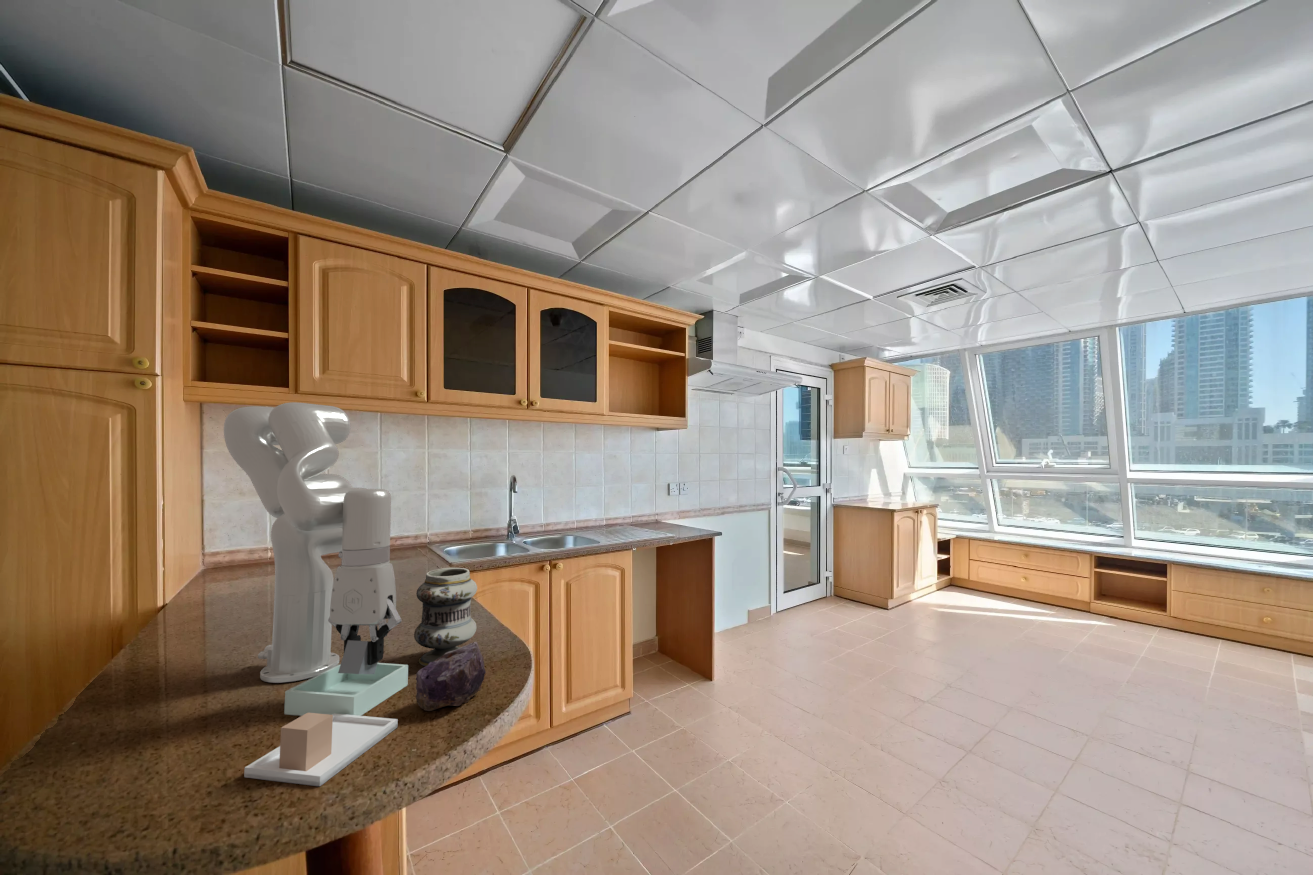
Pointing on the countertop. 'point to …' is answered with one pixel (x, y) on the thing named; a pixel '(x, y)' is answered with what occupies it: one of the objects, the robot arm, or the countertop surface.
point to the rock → (451, 678)
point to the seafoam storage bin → (345, 691)
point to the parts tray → (347, 745)
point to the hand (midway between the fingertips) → (363, 660)
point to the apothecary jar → (445, 612)
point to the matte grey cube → (356, 659)
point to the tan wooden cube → (306, 741)
